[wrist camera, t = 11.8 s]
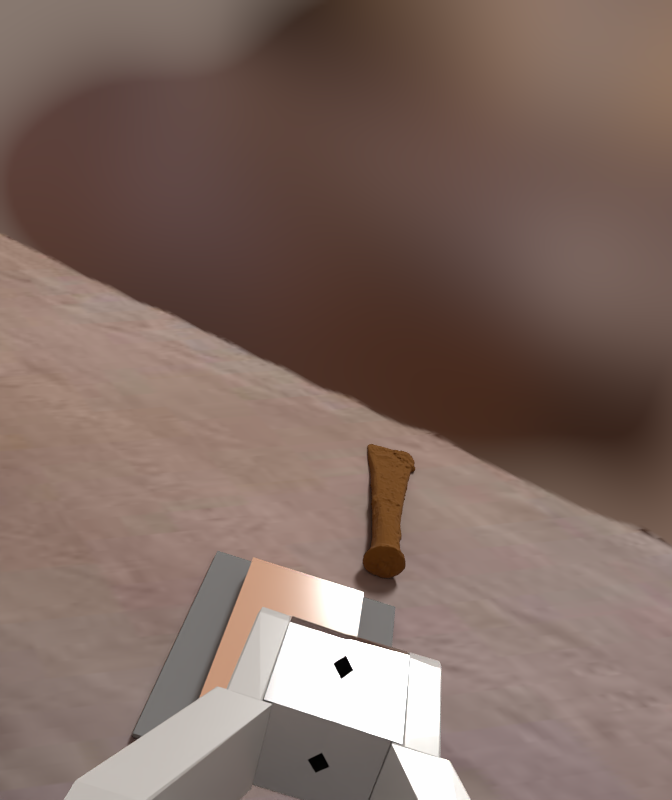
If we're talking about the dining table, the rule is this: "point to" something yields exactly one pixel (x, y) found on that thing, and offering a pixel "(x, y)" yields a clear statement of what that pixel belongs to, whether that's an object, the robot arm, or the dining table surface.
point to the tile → (282, 610)
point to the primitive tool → (387, 509)
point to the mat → (205, 634)
